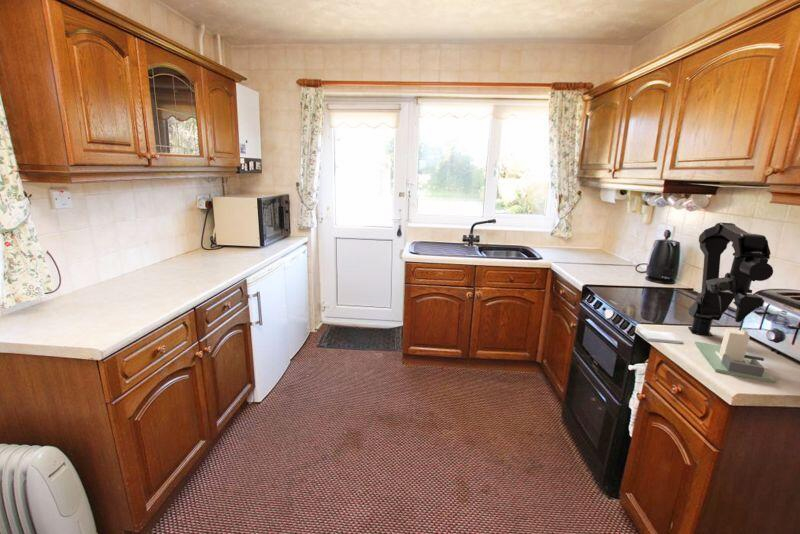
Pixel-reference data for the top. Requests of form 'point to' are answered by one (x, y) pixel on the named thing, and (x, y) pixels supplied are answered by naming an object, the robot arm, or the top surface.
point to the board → (715, 361)
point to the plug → (736, 345)
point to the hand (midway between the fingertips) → (729, 316)
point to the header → (743, 366)
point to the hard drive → (659, 336)
